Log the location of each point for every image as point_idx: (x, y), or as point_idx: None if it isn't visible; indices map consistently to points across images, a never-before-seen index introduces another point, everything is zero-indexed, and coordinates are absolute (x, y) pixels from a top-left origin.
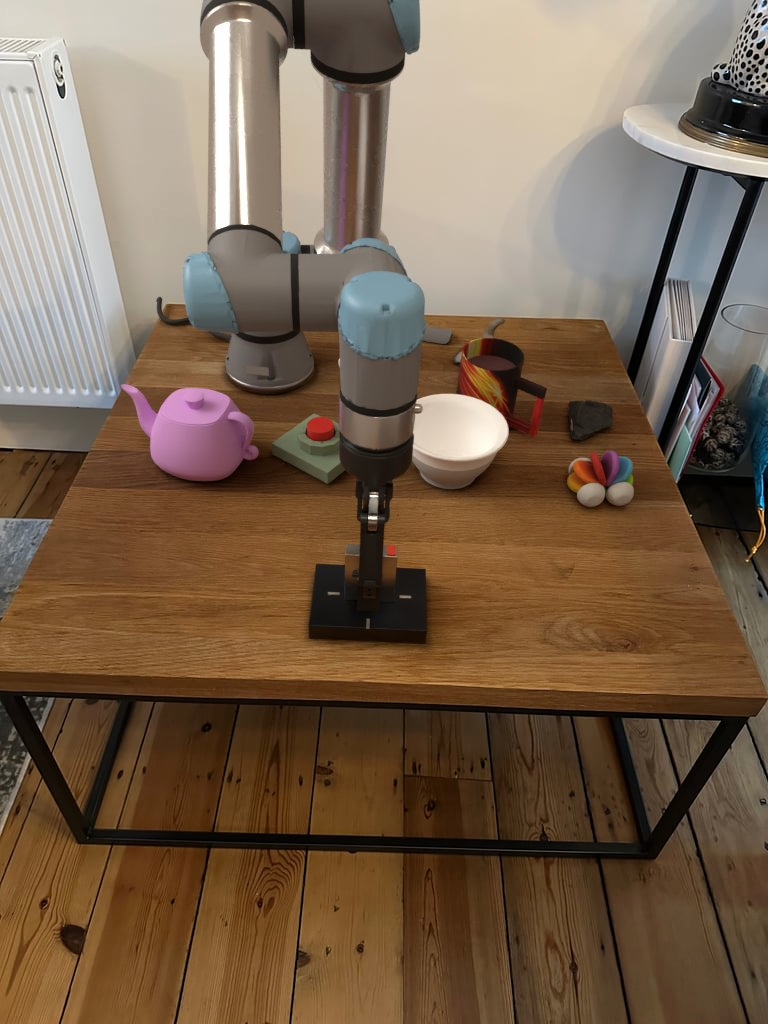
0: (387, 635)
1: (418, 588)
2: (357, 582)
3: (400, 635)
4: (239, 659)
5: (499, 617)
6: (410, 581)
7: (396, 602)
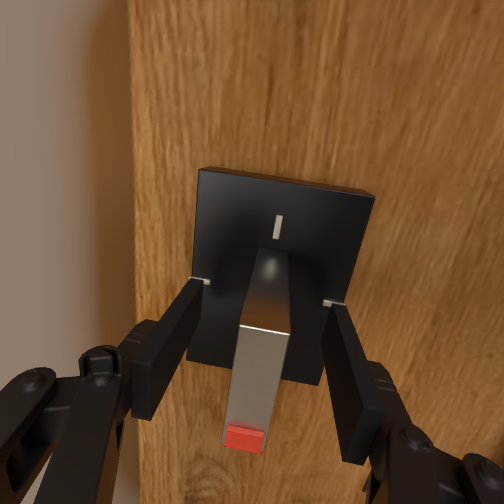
0: None
1: None
2: (25, 375)
3: None
4: (160, 12)
5: None
6: (292, 359)
7: None
